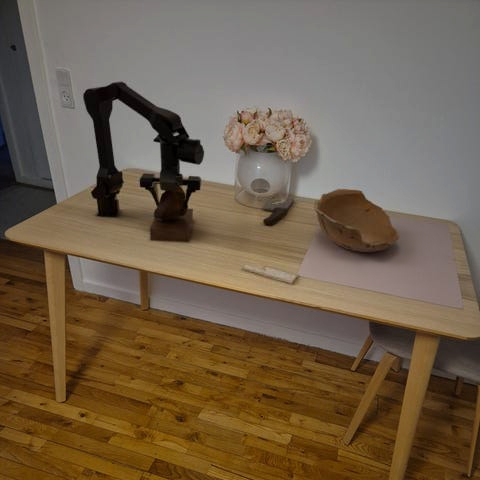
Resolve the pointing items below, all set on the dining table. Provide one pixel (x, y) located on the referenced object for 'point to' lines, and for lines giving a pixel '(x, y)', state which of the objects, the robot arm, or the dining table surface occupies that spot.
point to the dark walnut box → (172, 228)
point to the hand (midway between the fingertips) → (171, 208)
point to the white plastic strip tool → (273, 273)
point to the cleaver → (276, 210)
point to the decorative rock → (171, 205)
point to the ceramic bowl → (354, 221)
